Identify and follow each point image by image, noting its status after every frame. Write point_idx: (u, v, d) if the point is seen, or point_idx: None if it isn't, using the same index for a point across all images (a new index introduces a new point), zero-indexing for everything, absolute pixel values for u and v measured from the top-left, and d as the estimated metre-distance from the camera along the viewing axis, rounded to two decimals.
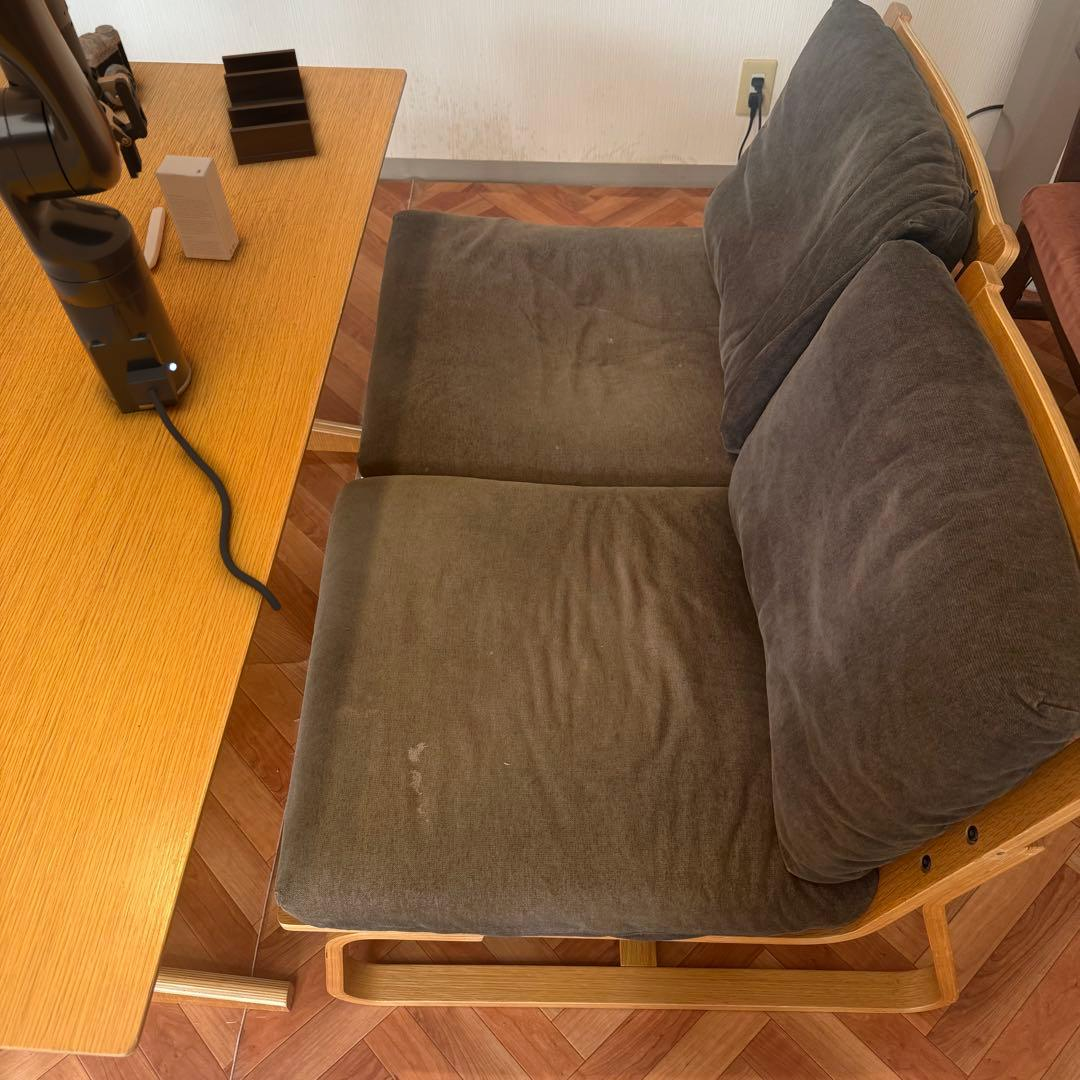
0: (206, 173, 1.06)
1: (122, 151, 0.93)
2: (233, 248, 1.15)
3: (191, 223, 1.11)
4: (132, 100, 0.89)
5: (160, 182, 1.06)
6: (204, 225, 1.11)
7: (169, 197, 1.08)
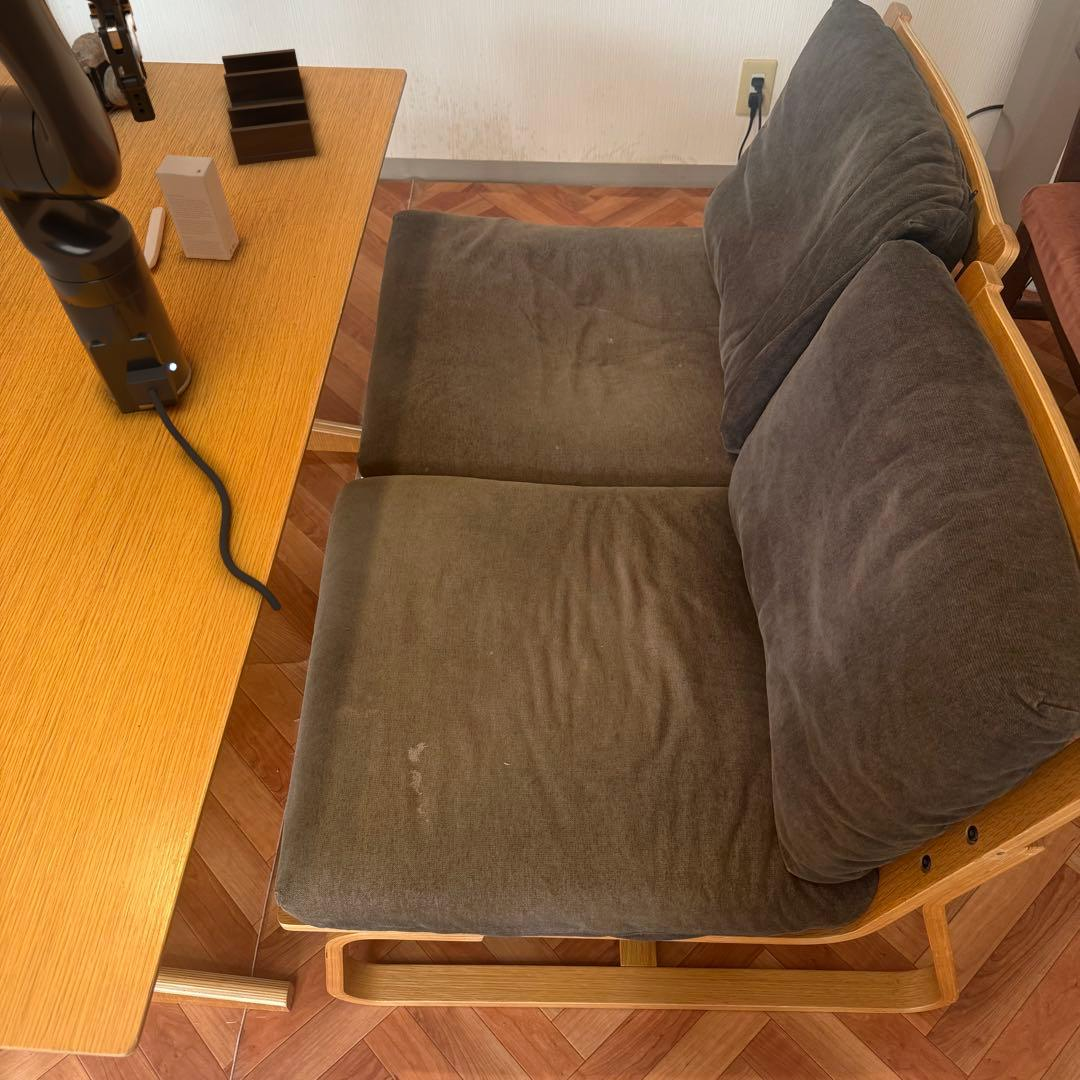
0: (206, 173, 1.06)
1: None
2: (233, 248, 1.15)
3: (191, 223, 1.11)
4: (106, 51, 0.87)
5: (160, 182, 1.06)
6: (204, 225, 1.11)
7: (169, 197, 1.08)
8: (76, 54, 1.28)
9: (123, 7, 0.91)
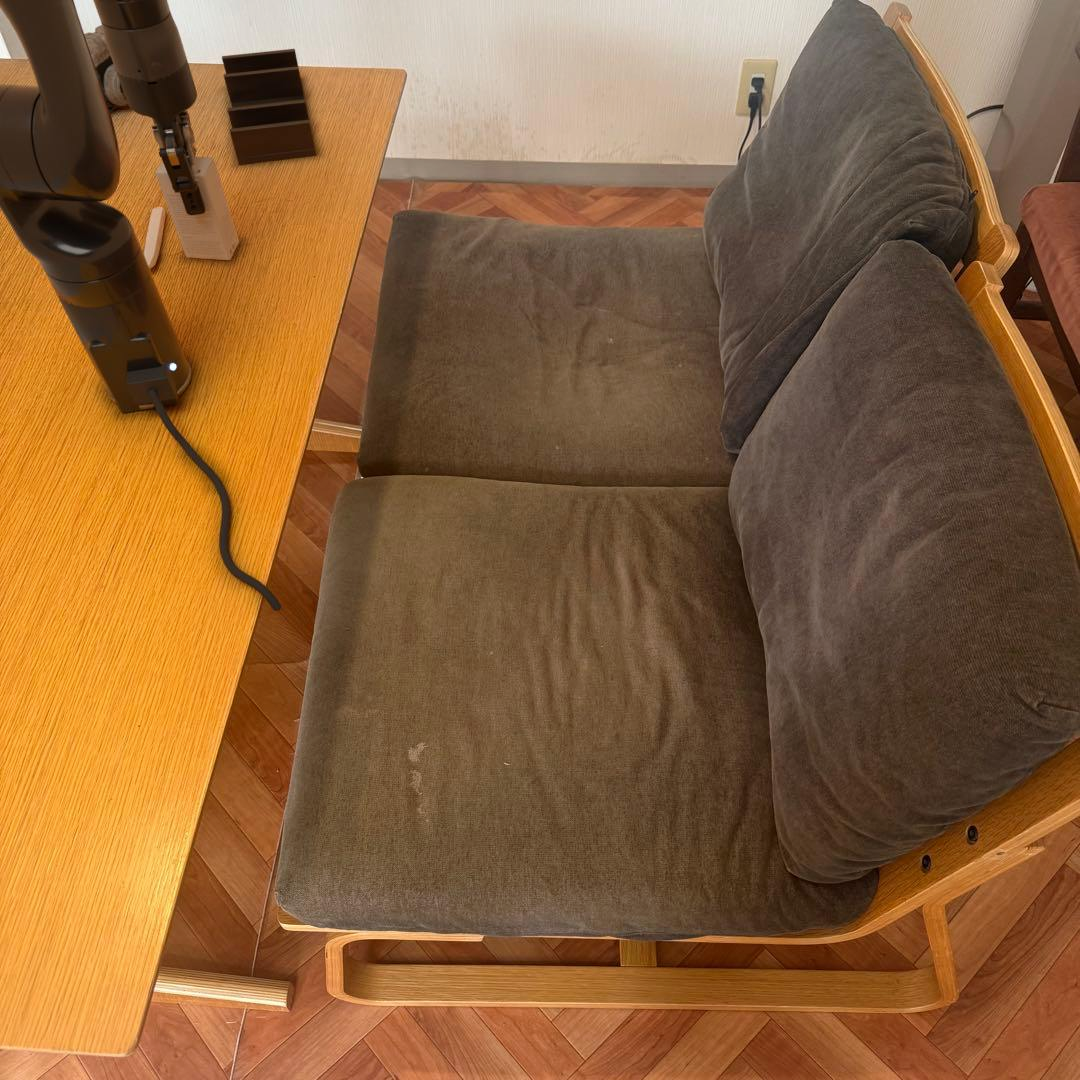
0: (206, 173, 1.06)
1: None
2: (233, 248, 1.15)
3: (191, 223, 1.11)
4: (165, 167, 1.00)
5: (160, 182, 1.06)
6: (204, 225, 1.11)
7: (169, 197, 1.08)
8: None
9: (182, 118, 1.03)
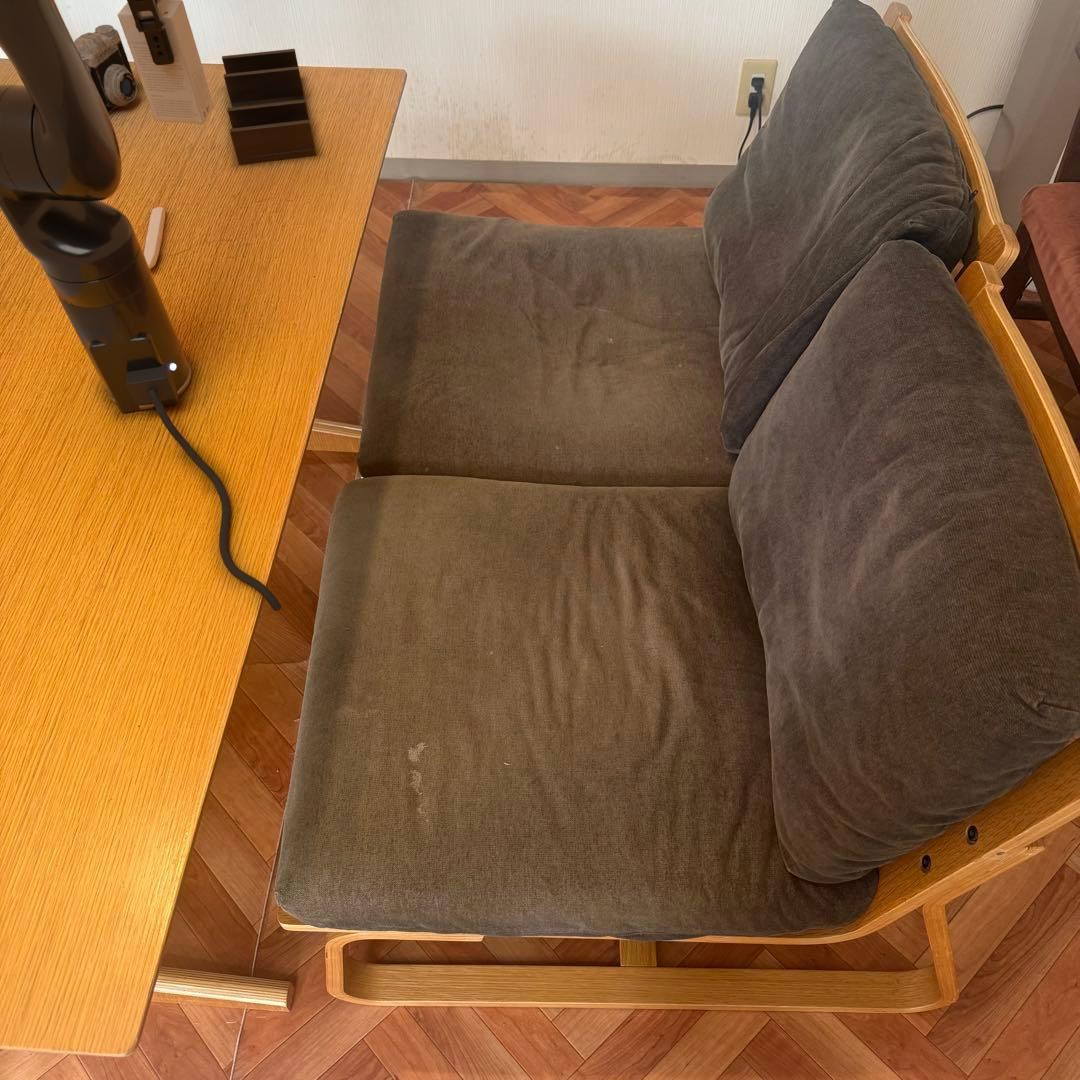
0: (174, 15, 0.95)
1: (144, 32, 0.95)
2: (207, 111, 1.05)
3: (159, 78, 1.00)
4: None
5: (123, 26, 0.96)
6: (174, 80, 1.00)
7: (134, 45, 0.97)
8: None
9: None
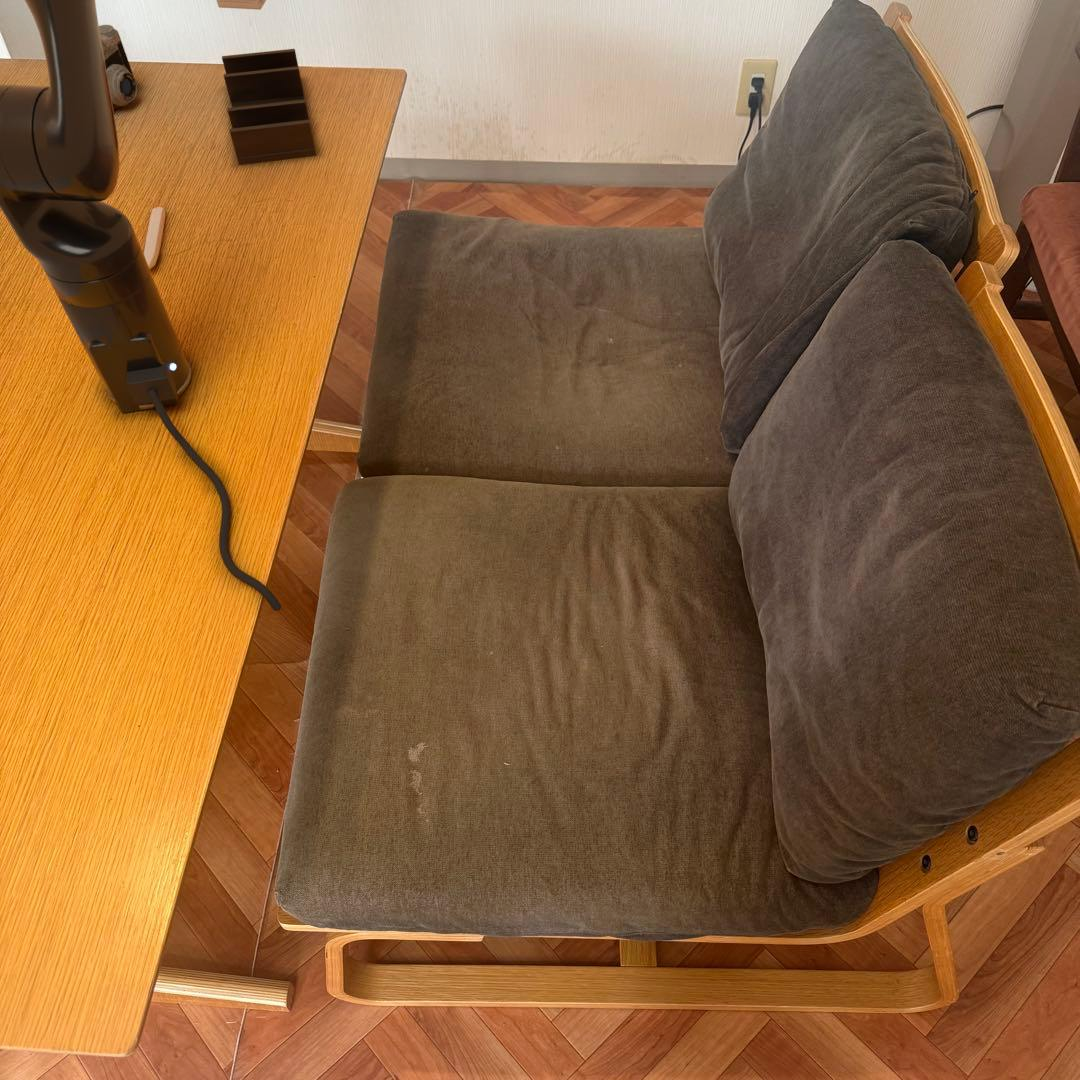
0: None
1: None
2: None
3: None
4: None
5: None
6: None
7: None
8: None
9: None
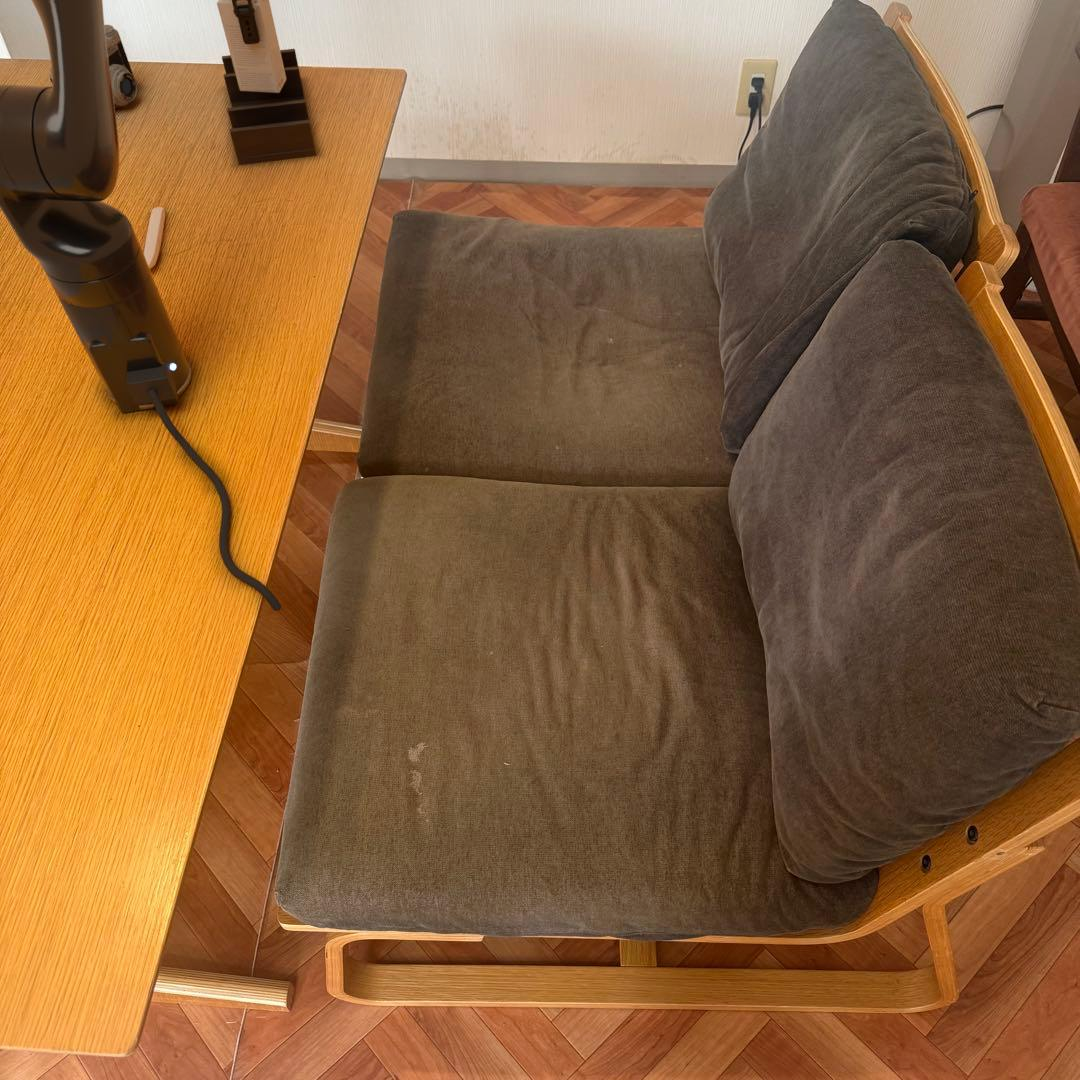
0: (261, 3, 1.20)
1: None
2: (282, 83, 1.29)
3: (246, 54, 1.25)
4: None
5: (221, 12, 1.20)
6: (258, 57, 1.25)
7: (228, 28, 1.22)
8: None
9: None
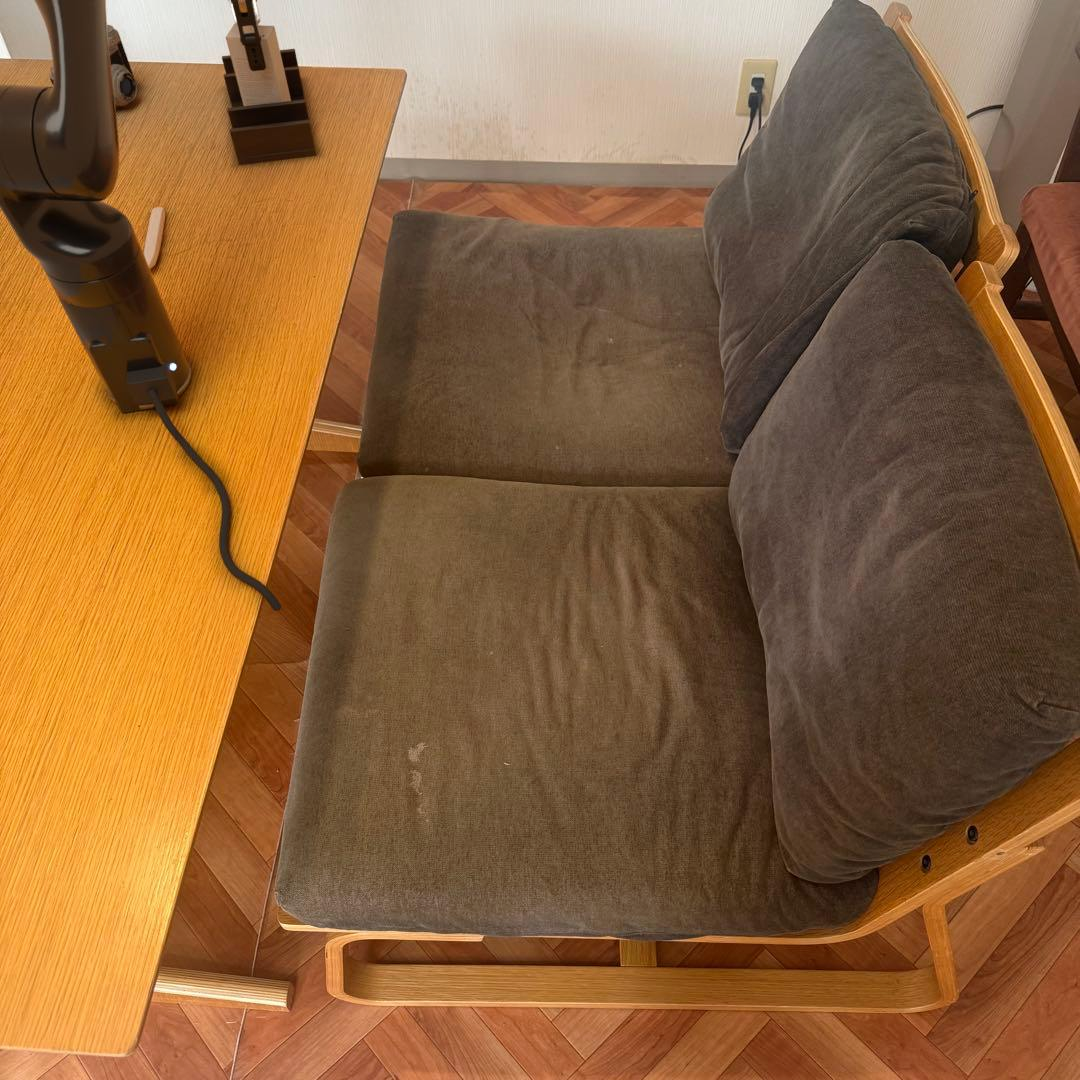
0: (269, 37, 1.23)
1: (244, 45, 1.22)
2: None
3: (254, 86, 1.28)
4: (235, 14, 1.16)
5: (229, 46, 1.24)
6: (265, 88, 1.28)
7: (236, 60, 1.25)
8: None
9: None
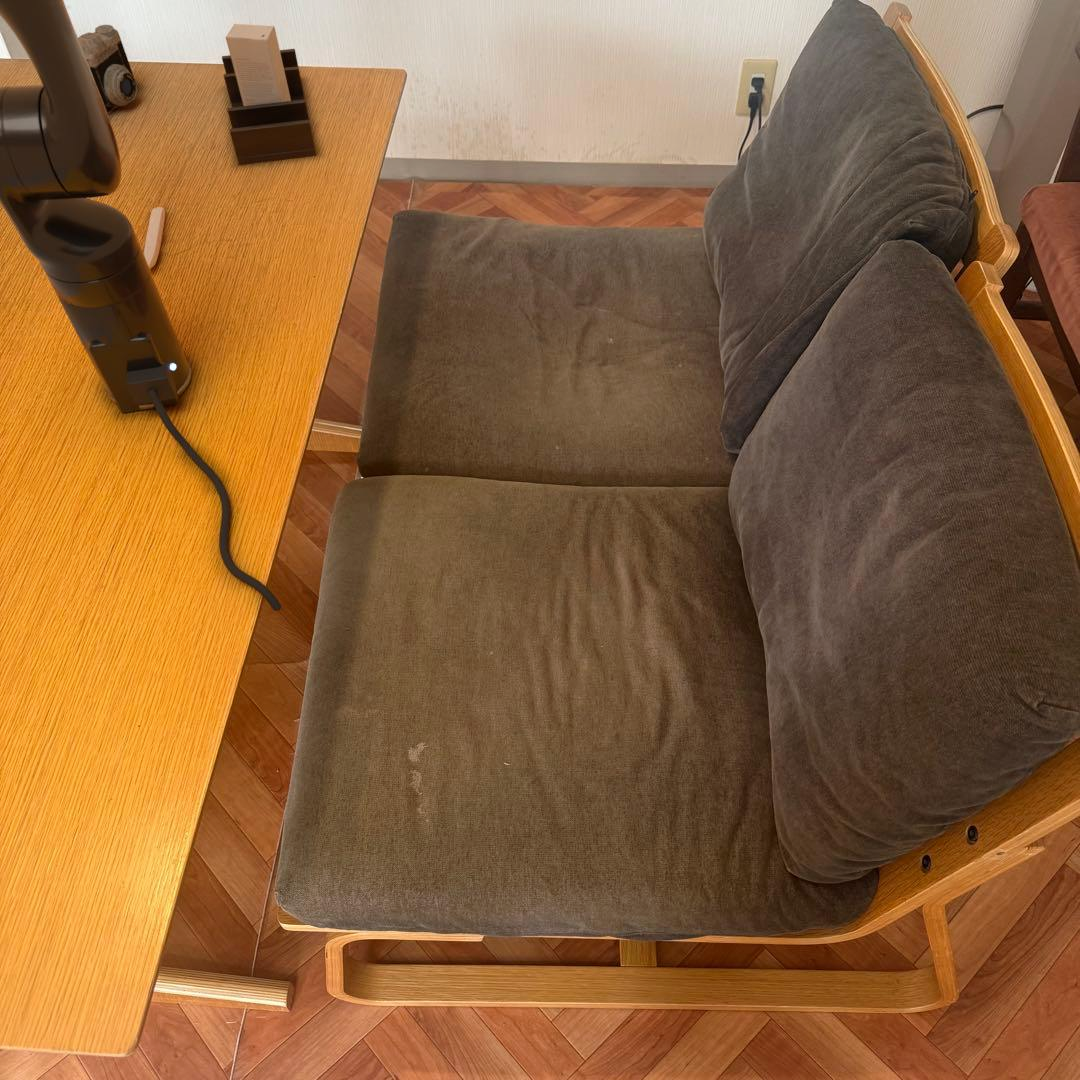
0: (269, 37, 1.23)
1: None
2: None
3: (254, 86, 1.28)
4: None
5: (229, 46, 1.24)
6: (265, 88, 1.28)
7: (236, 60, 1.25)
8: None
9: None
